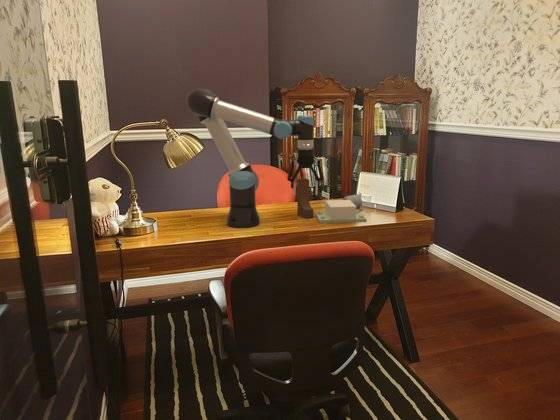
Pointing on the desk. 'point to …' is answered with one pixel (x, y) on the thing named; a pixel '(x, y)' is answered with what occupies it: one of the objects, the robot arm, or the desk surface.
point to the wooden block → (303, 199)
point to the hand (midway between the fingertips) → (305, 194)
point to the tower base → (326, 220)
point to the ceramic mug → (355, 200)
